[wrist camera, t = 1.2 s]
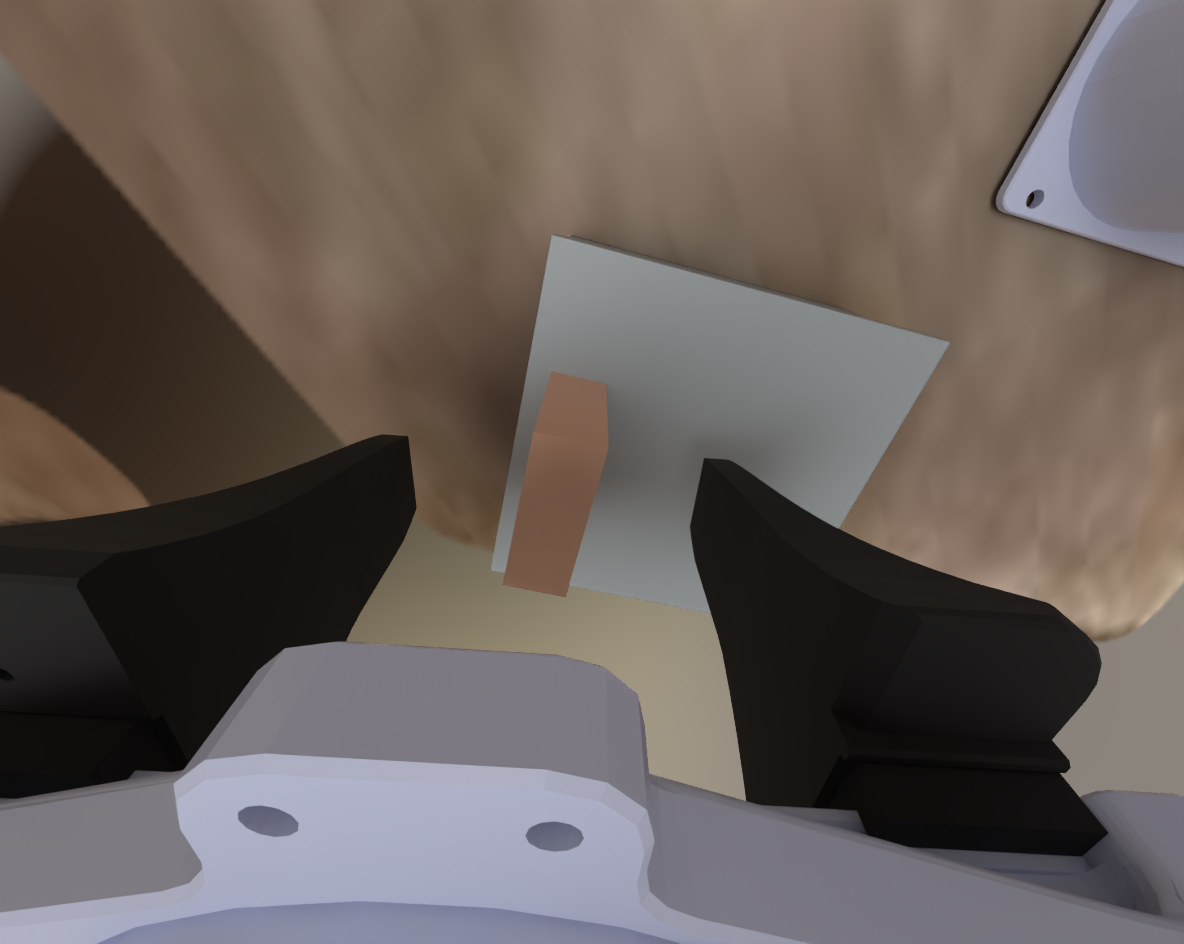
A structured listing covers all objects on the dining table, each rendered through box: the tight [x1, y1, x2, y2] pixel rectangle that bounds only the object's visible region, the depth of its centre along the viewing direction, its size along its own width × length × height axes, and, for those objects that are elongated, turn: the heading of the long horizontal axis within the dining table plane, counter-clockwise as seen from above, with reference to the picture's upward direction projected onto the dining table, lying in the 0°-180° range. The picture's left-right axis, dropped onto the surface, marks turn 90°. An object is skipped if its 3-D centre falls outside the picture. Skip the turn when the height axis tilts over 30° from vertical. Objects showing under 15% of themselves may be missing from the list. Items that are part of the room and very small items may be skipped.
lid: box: [491, 234, 950, 614], centre depth 13 cm, size 10×10×5 cm
